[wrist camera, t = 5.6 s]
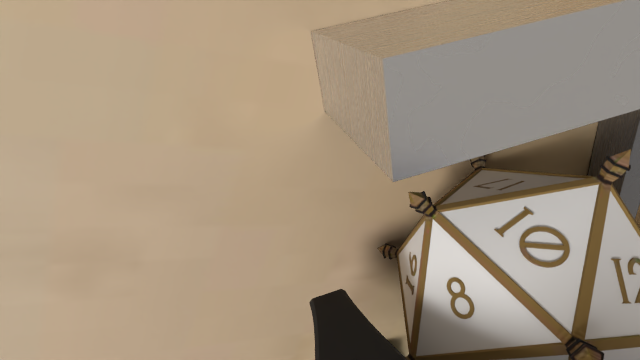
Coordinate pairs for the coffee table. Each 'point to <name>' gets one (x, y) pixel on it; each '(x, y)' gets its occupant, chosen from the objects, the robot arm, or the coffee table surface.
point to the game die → (523, 268)
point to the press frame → (485, 81)
